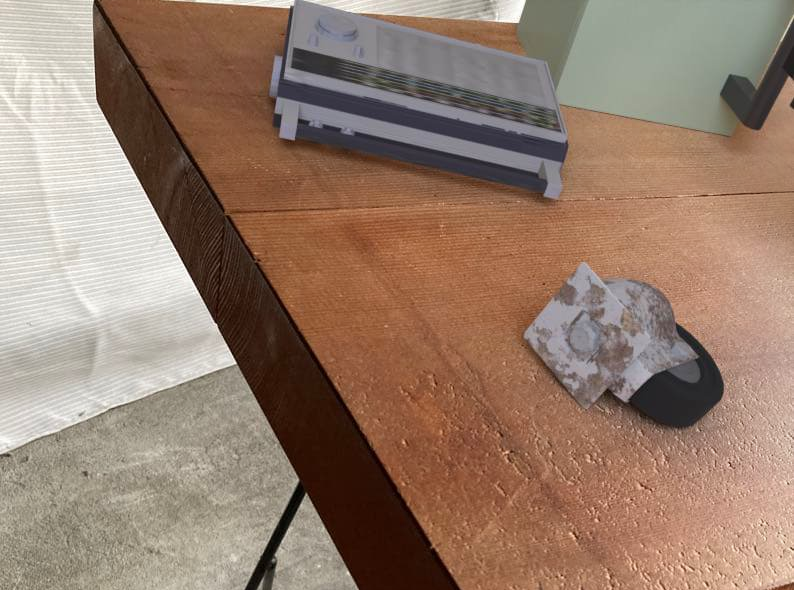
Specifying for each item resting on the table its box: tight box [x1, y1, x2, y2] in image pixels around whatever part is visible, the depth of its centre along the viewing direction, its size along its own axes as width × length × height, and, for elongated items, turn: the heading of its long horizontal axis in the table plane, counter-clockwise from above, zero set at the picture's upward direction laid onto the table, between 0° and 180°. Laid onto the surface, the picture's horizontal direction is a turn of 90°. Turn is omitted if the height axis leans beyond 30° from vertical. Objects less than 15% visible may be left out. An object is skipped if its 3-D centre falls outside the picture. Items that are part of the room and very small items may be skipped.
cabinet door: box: [554, 0, 794, 137], centre depth 88 cm, size 8×20×22 cm, turn 98°
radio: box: [268, 0, 570, 200], centre depth 83 cm, size 24×5×20 cm
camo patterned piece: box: [523, 261, 725, 429], centre depth 64 cm, size 7×11×10 cm
